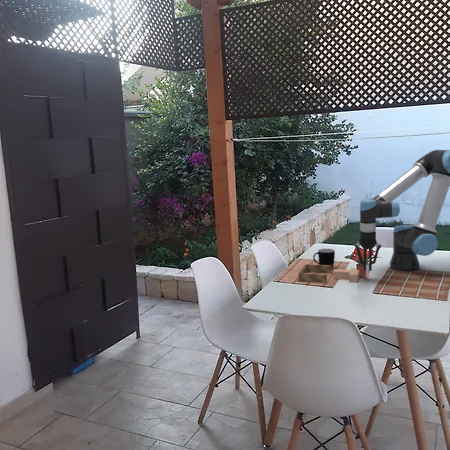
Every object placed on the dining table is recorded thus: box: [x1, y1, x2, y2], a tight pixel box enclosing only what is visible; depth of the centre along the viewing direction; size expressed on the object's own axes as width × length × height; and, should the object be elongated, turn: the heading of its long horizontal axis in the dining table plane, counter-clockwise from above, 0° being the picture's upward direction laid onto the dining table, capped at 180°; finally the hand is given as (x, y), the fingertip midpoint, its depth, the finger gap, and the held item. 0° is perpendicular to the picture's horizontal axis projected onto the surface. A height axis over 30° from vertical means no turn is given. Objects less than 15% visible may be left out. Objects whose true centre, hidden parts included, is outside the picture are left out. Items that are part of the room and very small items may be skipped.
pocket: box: [297, 263, 333, 284], centre depth 244 cm, size 14×18×4 cm
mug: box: [312, 248, 336, 269], centre depth 259 cm, size 12×9×10 cm
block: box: [333, 267, 360, 284], centre depth 239 cm, size 12×12×4 cm
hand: (367, 276), depth 235 cm, fingers closed
